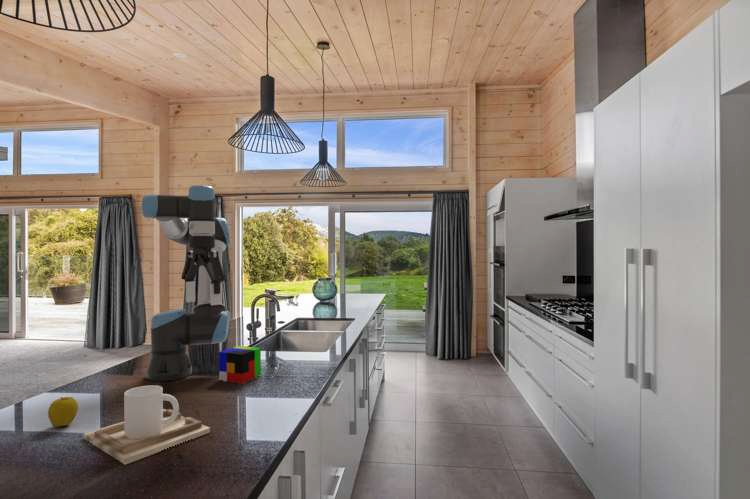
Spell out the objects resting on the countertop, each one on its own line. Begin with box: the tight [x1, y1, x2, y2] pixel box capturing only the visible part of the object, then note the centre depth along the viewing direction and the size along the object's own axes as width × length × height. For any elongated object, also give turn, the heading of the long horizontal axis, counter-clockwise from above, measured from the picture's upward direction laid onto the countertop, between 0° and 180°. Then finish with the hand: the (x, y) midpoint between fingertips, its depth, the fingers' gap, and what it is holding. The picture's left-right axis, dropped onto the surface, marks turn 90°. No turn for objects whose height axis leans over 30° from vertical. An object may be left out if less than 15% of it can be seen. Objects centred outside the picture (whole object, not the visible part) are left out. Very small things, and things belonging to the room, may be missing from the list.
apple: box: [47, 396, 79, 428], centre depth 114 cm, size 6×6×8 cm
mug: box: [123, 384, 180, 439], centre depth 107 cm, size 12×8×10 cm
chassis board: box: [83, 408, 211, 465], centre depth 108 cm, size 22×20×2 cm
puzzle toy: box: [218, 345, 262, 384], centre depth 155 cm, size 10×10×10 cm
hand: (202, 303), depth 137 cm, fingers open, 13 cm apart
